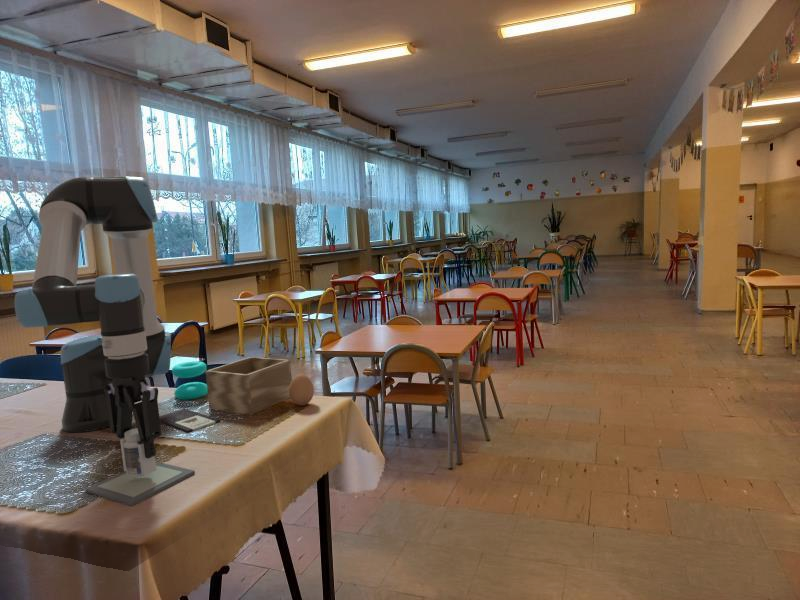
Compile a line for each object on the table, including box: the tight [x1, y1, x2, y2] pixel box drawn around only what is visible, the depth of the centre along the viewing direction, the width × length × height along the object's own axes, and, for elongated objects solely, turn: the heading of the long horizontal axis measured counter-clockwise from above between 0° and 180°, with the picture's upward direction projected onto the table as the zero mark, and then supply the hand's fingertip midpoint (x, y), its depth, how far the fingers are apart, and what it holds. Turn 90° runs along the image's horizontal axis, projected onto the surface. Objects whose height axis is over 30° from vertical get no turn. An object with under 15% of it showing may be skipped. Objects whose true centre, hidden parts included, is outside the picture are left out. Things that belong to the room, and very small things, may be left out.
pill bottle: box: [124, 427, 142, 477], centre depth 105 cm, size 5×5×8 cm
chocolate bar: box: [159, 408, 221, 434], centre depth 141 cm, size 9×1×18 cm
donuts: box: [171, 360, 208, 401], centre depth 164 cm, size 10×10×10 cm
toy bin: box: [204, 356, 293, 416], centre depth 153 cm, size 16×18×11 cm
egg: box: [289, 373, 315, 407], centre depth 148 cm, size 7×7×9 cm
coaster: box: [84, 460, 196, 506], centre depth 105 cm, size 14×14×1 cm
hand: (140, 470), depth 105 cm, fingers closed on pill bottle, 5 cm apart
